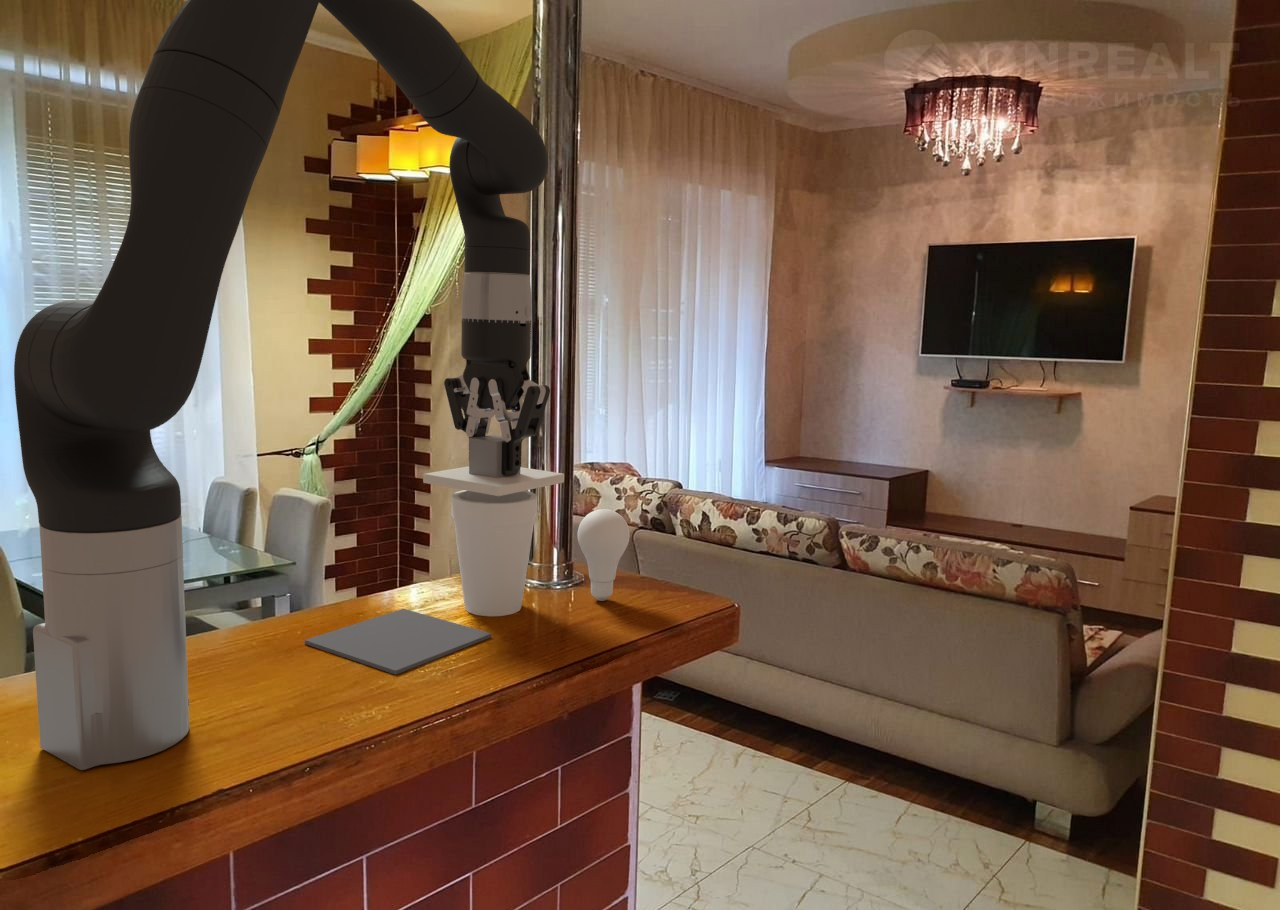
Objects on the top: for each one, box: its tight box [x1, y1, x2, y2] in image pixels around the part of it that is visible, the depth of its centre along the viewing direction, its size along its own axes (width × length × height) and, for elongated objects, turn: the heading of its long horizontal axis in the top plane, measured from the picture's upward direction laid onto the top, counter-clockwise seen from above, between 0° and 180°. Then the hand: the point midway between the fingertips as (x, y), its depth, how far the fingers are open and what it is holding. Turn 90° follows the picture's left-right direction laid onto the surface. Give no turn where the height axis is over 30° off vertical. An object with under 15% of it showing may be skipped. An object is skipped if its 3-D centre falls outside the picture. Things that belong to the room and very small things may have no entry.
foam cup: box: [450, 490, 538, 617], centre depth 106 cm, size 10×9×13 cm
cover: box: [422, 434, 565, 496], centre depth 105 cm, size 11×11×5 cm
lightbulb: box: [576, 508, 631, 602], centre depth 110 cm, size 6×6×11 cm
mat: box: [304, 608, 492, 676], centre depth 96 cm, size 13×13×1 cm
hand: (494, 471), depth 105 cm, fingers closed on cover, 3 cm apart
